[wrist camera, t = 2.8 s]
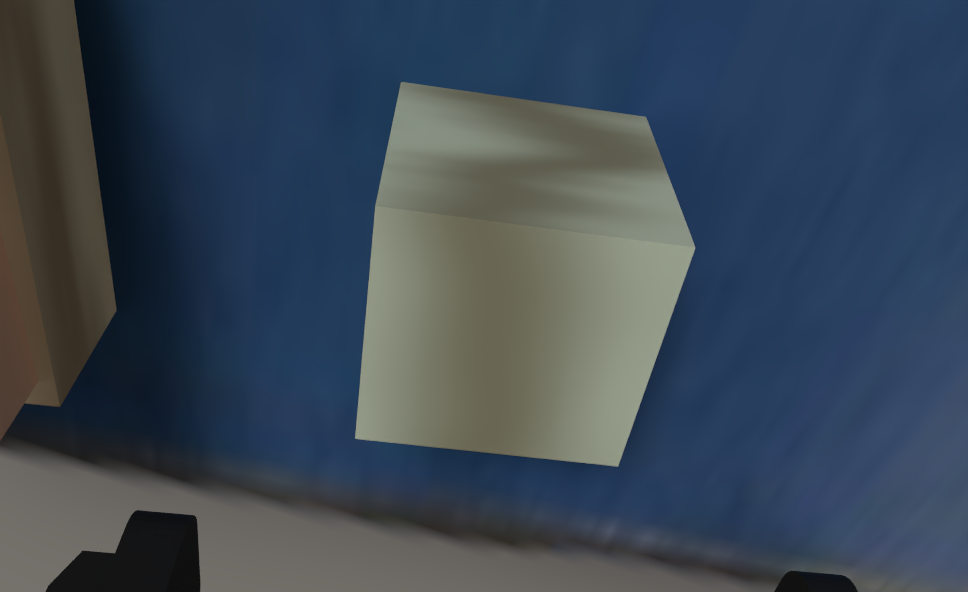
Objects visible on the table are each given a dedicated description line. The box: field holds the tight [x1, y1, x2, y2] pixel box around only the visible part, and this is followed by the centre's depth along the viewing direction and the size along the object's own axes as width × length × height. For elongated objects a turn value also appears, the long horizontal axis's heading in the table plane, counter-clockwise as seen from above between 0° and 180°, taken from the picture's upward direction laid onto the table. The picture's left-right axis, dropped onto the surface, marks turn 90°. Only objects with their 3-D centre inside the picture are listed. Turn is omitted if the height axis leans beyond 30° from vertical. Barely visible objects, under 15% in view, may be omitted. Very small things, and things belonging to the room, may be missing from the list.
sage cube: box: [355, 82, 695, 466], centre depth 18 cm, size 6×6×6 cm
